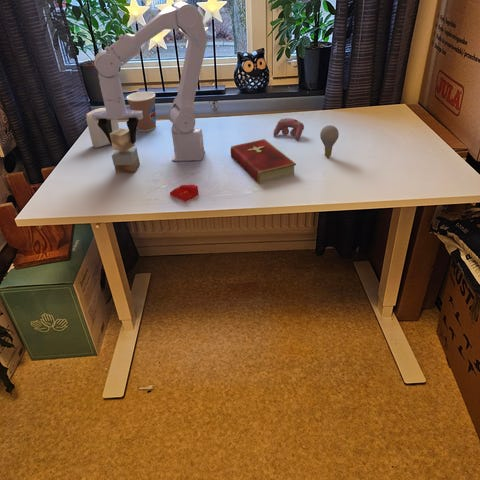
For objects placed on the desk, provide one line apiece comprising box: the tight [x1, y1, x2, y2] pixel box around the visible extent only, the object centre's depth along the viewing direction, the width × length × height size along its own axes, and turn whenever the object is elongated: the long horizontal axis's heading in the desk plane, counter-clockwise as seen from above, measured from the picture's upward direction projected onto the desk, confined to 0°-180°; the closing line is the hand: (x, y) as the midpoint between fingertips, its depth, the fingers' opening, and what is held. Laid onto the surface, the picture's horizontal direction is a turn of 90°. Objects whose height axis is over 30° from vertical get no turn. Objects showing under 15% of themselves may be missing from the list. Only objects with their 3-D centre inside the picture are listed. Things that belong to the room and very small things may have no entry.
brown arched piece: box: [273, 118, 305, 141], centre depth 151 cm, size 10×5×7 cm, turn 58°
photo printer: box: [85, 107, 120, 149], centre depth 151 cm, size 10×4×12 cm, turn 123°
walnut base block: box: [113, 156, 141, 174], centre depth 137 cm, size 6×6×3 cm
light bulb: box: [319, 124, 340, 158], centre depth 134 cm, size 5×5×10 cm
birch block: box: [110, 127, 135, 152], centre depth 132 cm, size 4×4×5 cm
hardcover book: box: [230, 138, 297, 185], centre depth 134 cm, size 12×21×4 cm, turn 23°
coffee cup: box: [125, 91, 157, 132], centre depth 162 cm, size 10×10×12 cm
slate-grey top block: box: [111, 147, 139, 166], centre depth 135 cm, size 6×6×3 cm
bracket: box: [169, 184, 199, 203], centre depth 121 cm, size 6×5×3 cm
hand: (123, 142), depth 133 cm, fingers closed on birch block, 6 cm apart
